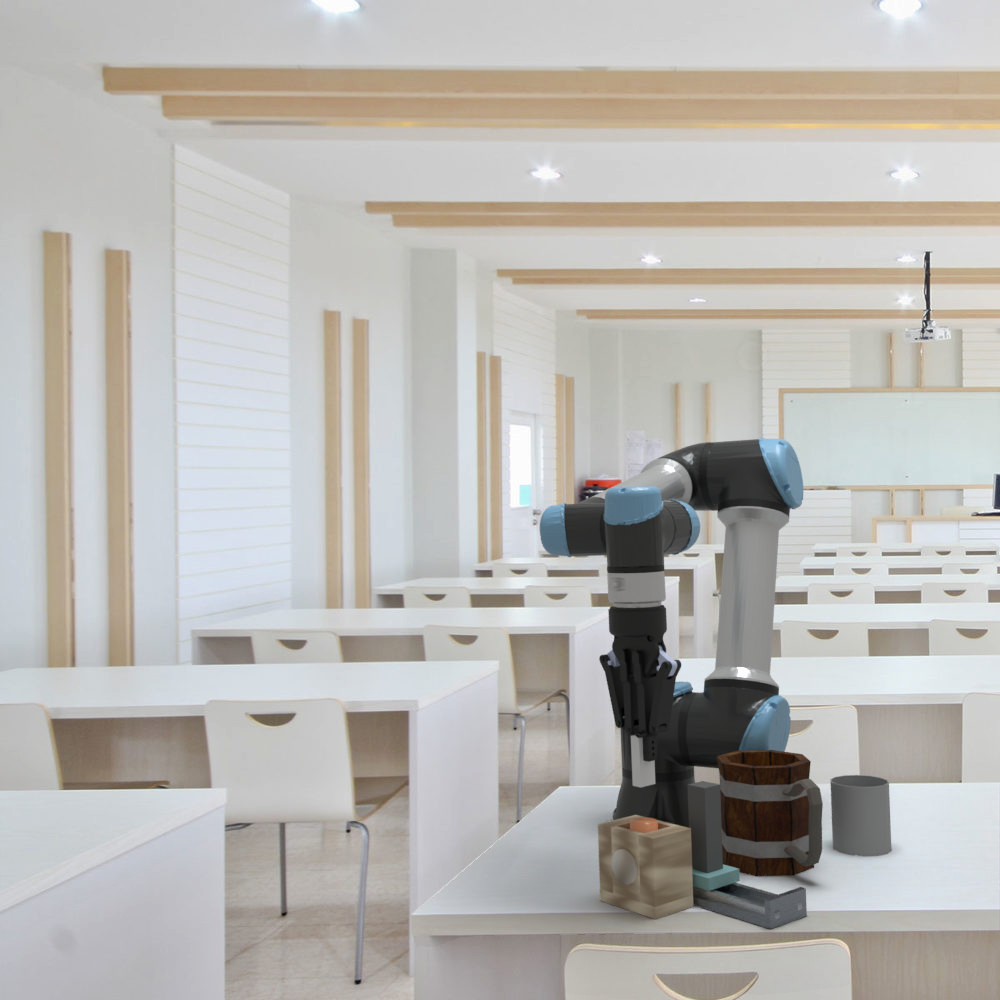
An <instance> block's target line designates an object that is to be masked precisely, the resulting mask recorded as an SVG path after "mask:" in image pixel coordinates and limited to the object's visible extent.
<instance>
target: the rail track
mask: <svg viewBox="0 0 1000 1000" xmlns="http://www.w3.org/2000/svg"><path fill="white" fill-rule="evenodd" d="M693 906H695V907H699V908H702V909H705V910H708V911H712V912H715V913H718V914H722V915H725V916H728V917H731V918H734V919H736V920H741V921H744V922H747V923H750V924H754V925H757V926H758V927H759V926H760V927H762V928H764V929H765V928H766V929H770V930H773V929H775V928H778V927H780V926H783V925H786V924H789V923H791V922H794V921H797V920H799V919H802V918H806V917H807V916H808V915H807V914H808V913H807V912H808V911H807V888H805V887H802V886H800V887H796V888H793V889H791V890H789V891H785V892H782V893H779V894H777V893H775V892H774V893H773V892H770V891H767V890H764V889H760V888H756V887H752V886H749V885H745V884H742V883H738V882H735V883H732V884H729V885H726V886H723V887H720V888H716V889H713V890H710V891H708V890H704V889H701V888H698V887H694V886H693Z"/></svg>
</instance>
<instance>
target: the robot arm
mask: <svg viewBox="0 0 1000 1000" xmlns="http://www.w3.org/2000/svg"><path fill="white" fill-rule="evenodd" d="M803 500H804V480H803V474H802V469H801V465H800V461H799V458H798V456H797V452H796V451H795V449H794V447H793V446H792V445H791V443H790V442H788V441H787V440H785V439H782V438H763V437H759V438H758V439H742V440H741V439H740V440H728V441H714V442H713V441H712V442H711V441H708V442H701V443H695V444H690V445H689V446H685V447H681V448H680V449H677V450H674V451H670V452H669V453H666V454H664V455H662V456H660V457H658V458H656V459H653V460H652V461H650V462H649V463H647V464H645V465H644V467H643V468H642V470H641V471H640V473H638V474H637V475H634V476H631V477H630V478H628V479H627V480H623V481H621V482H619V483H618V484H615V485H614V486H611V487H609V488H607V489H605V490H603V491H601V492H599V493H596V494H595V495H593V496H590V497H589V498H586V499H584V500H581V501H579V502H577V503H564V502H563V503H562V504H553V505H549V506H548V507H546V508H545V509H544V511H543V513H542V515H541V517H540V521H539V536H540V543H541V544H542V547H543V548H544V550H545V552H547V553H548V554H549V555H551V556H559V557H560V556H561V557H568V558H572V557H591V556H592V557H593V556H596V557H597V556H599V557H600V556H606V564H607V565H606V572H607V573H606V576H607V599H608V602H609V603H611V604H612V606H610V607H609V609H608V611H607V613H608V630H609V631H608V632H609V633H610V635H611V636H613V641H612V645H611V650H610V651H609V652H608V653H606V654H601V655H600V656H599V663H600V665H601V667H602V668H603V671H604V673H605V679H606V685H607V689H608V694H609V699H610V703H611V704H610V705H611V709H612V714H613V718H614V724H615V726H616V728H618V729H620V750H621V751H620V752H621V754H620V755H621V771H622V772H621V784H620V789H619V791H618V796H617V799H616V800H617V801H616V807H615V808H614V809H613V813H612V820H616V819H621V818H625V817H629V816H633V815H639V816H643V817H647V818H654V819H656V820H659V821H663V822H667V823H671V824H675V825H679V826H683V827H687V828H689V814H688V784H692V783H696V780H695V767H698V768H699V767H700V768H710V769H719V768H718V761H717V756H719V755H723V754H727V753H731V752H735V751H750V750H776V751H783V752H786V748H787V746H788V741H789V736H790V731H791V719H792V718H791V716H790V714H791V708H790V704H789V702H788V700H787V699H786V698H785V697H783V696H782V695H780V694H779V693H780V686H779V684H778V683H777V682H776V681H775V680H774V679H773V677H772V675H771V664H772V663H771V662H772V647H773V631H774V615H775V598H776V583H777V569H778V568H777V566H778V552H779V551H778V549H779V535H780V533H779V532H780V531H781V529H783V528H784V527H785V526H786V525H787V524H788V523H789V522H790V512H791V510H796V509H798V508H800V507H801V506H802V504H803ZM699 511H700V512H701V511H704V512H705V511H713V512H715V511H717V515H716V517H717V519H718V520H719V521H720V522H721V523H722V524H723V525H724V526H725V533H724V545H723V546H724V547H723V559H722V560H723V561H722V571H721V575H722V576H721V583H720V585H721V586H720V598H719V599H720V601H719V609H718V610H719V611H718V613H719V615H718V624H717V625H718V627H717V637H716V638H717V639H716V652H715V667H714V670H713V671H712V672H711V673H710V674H708V675H707V677H705V678H704V680H703V681H704V682H703V683H704V686H703V691H702V692H701V691H700V692H694V688H693V686H692V683H691V682H690V681H677V676H678V675H679V672H680V671H681V669H682V662H681V660H679V659H673V658H671V657H670V655H669V654H667V647H666V644H665V642H664V635H665V634H666V632H667V631H668V624H667V622H668V621H667V608H666V607H665V605H664V604H662V602H664V601H666V600H667V598H666V597H667V595H666V594H667V593H666V581H665V580H666V579H665V556H666V555H667V556H669V555H672V556H673V555H674V556H676V555H679V554H680V553H682V552H685V551H688V550H689V549H691V548H692V547H693V546H694V545H695V543H696V542H697V540H698V539H699V536H700V533H701V522H700V518H699V516H698V514H697V512H699Z"/></svg>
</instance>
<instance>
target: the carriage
mask: <svg viewBox="0 0 1000 1000" xmlns="http://www.w3.org/2000/svg"><path fill="white" fill-rule="evenodd" d="M688 814H689V828H691V845H692V876H693V886H694V887H698V888H701V889H704V890H708V891H710V890H713V889H716V888H720V887H723V886H726V885H729V884H732V883H738V882H740V879H741V877H740V874H741V873H739V869H738V868H735V867H731V866H727V865H724V864H723V855H722V825H721V795H720V783H714V782H710V781H705V780H701V781H698V782H696V781H695V783H692V784H688Z"/></svg>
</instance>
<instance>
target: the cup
mask: <svg viewBox="0 0 1000 1000" xmlns="http://www.w3.org/2000/svg"><path fill="white" fill-rule="evenodd" d="M890 799H891V798H890V782H889V781H888V779H885V778H883V777H879V776H872V775H861V774H854V775H853V774H852V775H851V774H850V775H839V776H835V777H832V778H830V801H831V802H830V803H831V806H830V807H831V808H830V809H831V828H832V830H831V831H832V835H831V836H832V848H833V850H834V851H837V852H838V853H839V854H845V855H850V856H855V855H857V856H858V857H878V856H883V855H888V854H889V853H891V852H892V831H891V829H892V828H891V807H890V806H891V801H890ZM857 856H856V857H857Z"/></svg>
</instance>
